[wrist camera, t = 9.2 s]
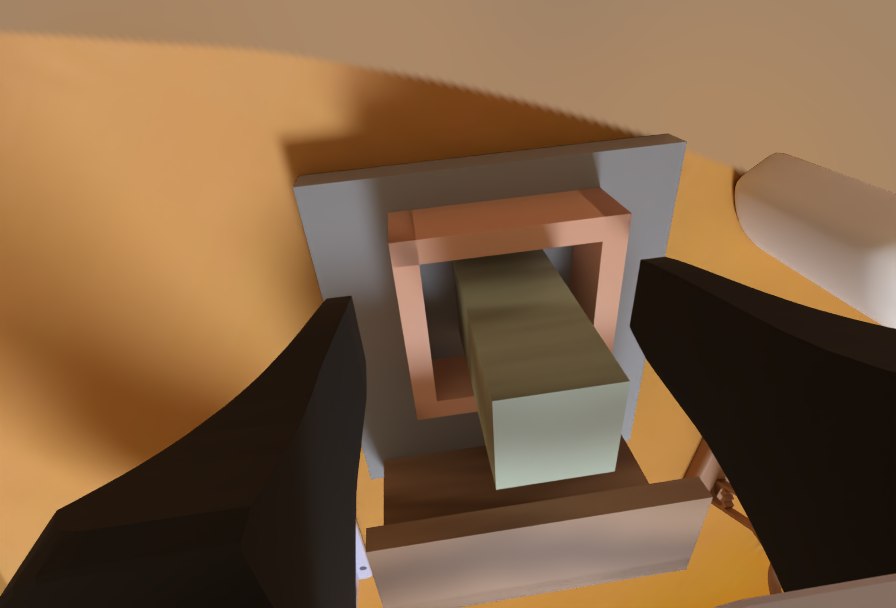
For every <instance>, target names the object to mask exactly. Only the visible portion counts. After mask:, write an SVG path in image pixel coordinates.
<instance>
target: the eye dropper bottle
mask: <svg viewBox="0 0 896 608" xmlns="http://www.w3.org/2000/svg"><path fill="white" fill-rule="evenodd" d="M735 207H736V212H737V216H738V220H739V222H740V225H741V227H742V229H743V231H744V232H745V234H746V235H747V236H748V237H749V239H750V240H751V241H752V242H753V243H754V244H755V245H757V246H758V247H759V248H760V249H762V250H763V251H765V252H766V253H768V254H769V255H771V256H773V257H774V258H776V259H777V260H779V261H780V262H782V263H784V264H785V265H787V266H788V267H790V268H791V269H793V270H795V271H796V272H798V273H799V274H801V275H802V276H804V277H806V278H807V279H809V280H810V281H812V282H814V283H815V284H817V285H818V286H820V287H821V288H823V289H825V290H826V291H828V292H829V293H831V294H833V295H834V296H836V297H837V298H839V299H841V300H842V301H844V302H845V303H847V304H848V305H850V306H852V307H853V308H855V309H856V310H858V311H860V312H861V313H863V314H865V315H866V316H868V317H870V318H871V319H873V320H874V321H876V322H878V323H880V324H881V325H883V326H885V327H890V328H895V329H896V194H895V193H893V192H890V191H887V190H884V189H882V188H879V187H876V186H874V185H871V184H868V183H865V182H863V181H860V180H857V179H854V178H851V177H849V176H846V175H843V174H841V173H838V172H835V171H832V170H829V169H827V168H824V167H821V166H818V165H815V164H813V163H810V162H807V161H804V160H802V159H799V158H796V157H793V156H790V155H787V154H784V153H775V154H773V155H770V156H769V157H767V158H766V159H765V160H763V161H762V162H760V163H759V164H757V165H756V166H755V167H753V168H752V169H751V170H749V171H748V172H747V173H745V174H744V175H743V176H742V177H741V178H740V179H739V180H738V181H737V184H736V187H735Z"/></svg>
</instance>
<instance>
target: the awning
mask: <svg viewBox="0 0 896 608" xmlns="http://www.w3.org/2000/svg"><path fill="white" fill-rule="evenodd" d="M712 499H713V497H712V495H711V494H710V492H709V491H708V489H707V488H706V486H705V485H704V483H703V482H702V480H701V479H700V477H699V476H698V477H692V478H685V479H679V480H672V481H666V482H659V483H653V484H649V483H648V481H647V479H646V477H645V476H644V474H643V472H642V470H641V468H640V467H639V465H638V463H637V461H636V460H635V458H634V456H633V454H632V452H631V451H630V449H629V447H628V445H627V443H626V442H625V440H624V438H623V436H622V434H621V438H620V444H619V450H618V456H617V461H616V467H615V471H614V472H608V473H601V474H595V475H588V476H582V477H575V478H569V479H562V480H556V481H550V482H543V483H537V484H530V485H524V486H517V487H511V488H505V489H498V490H496V487H495V483H494V479H493V474H492V470H491V466H490V461H489V457H488V453H487V449H486V445H485V446H478V447H472V448H465V449H458V450H451V451H445V452H438V453H431V454H424V455H418V456H411V457H404V458H397V459H391V460H384V526H378V527H371V528H366V555H367V558H368V561H369V564H370V568H371V571H372V574H373V577H374V580H375V583H376V586H377V589H378V592H379V596H380V599H381V602H382V605H383V608H459V607H465V606H471V605H477V604H483V603H489V602H495V601H501V600H507V599H513V598H519V597H525V596H531V595H536V594H542V593H548V592H554V591H560V590H566V589H572V588H578V587H584V586H590V585H596V584H602V583H608V582H614V581H620V580H626V579H632V578H638V577H644V576H650V575H656V574H662V573H668V572H674V571H680V570H686V569H687V566H688V563H689V561H690V558H691V555H692V553H693V550H694V547H695V544H696V542H697V539H698V536H699V534H700V531H701V528H702V526H703V523H704V520H705V517H706V515H707V512H708V509H709V507H710V504H711V501H712Z"/></svg>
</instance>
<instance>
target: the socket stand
mask: <svg viewBox="0 0 896 608" xmlns="http://www.w3.org/2000/svg"><path fill="white" fill-rule="evenodd" d="M686 143H687V142H686V141H684V140H682V139H679V138H677V137H675V136H672V135H670V134H660V135H651V136H642V137H634V138H625V139H616V140H608V141H599V142H590V143H581V144H573V145H564V146H555V147H546V148H538V149H529V150H520V151H512V152H503V153H494V154H485V155H477V156H468V157H459V158H451V159H442V160H433V161H424V162H416V163H407V164H398V165H389V166H381V167H372V168H363V169H355V170H346V171H337V172H328V173H320V174H311V175H302V176H298V178H297V180H296V182H295V184H294V186H293V190H294V194H295V198H296V202H297V205H298V209H299V213H300V216H301V220H302V224H303V228H304V231H305V235H306V239H307V243H308V246H309V250H310V254H311V257H312V261H313V265H314V269H315V272H316V276H317V280H318V283H319V287H320V291H321V295H322V298H323V302H324V301H325V300H326V299H327V298H335V297H344V296H352V299H353V304H354V308H355V313H356V318H357V322H358V327H359V331H360V336H361V340H362V345H363V349H364V354H365V359H366V377H367V399H366V408H365V417H364V426H363V434H362V447H363V451H364V455H365V458H366V462H367V466H368V470H369V473H370V477H371V479H377V478H384V460H391V459H397V458H404V457H411V456H418V455H424V454H431V453H438V452H445V451H451V450H458V449H465V448H472V447H478V446H485V445H486V444H485V440H484V436H483V431H482V427H481V423H480V419H479V414H478V410H477V406H476V401H475V397H474V393H473V389H472V384H471V380H470V376H469V371H468V367H467V363H466V359H465V354H464V350H463V346H462V341H461V337H460V333H459V325H458V314H457V302H456V291H455V279H454V268H453V260H460V259H468V258H476V257H484V256H492V255H500V254H508V253H516V252H524V251H531V250H539V249H543V250H544V252H545V253H546V255H547V256H548V258H549V259H550V261H551V262H552V264H553V265H554V267H555V268H556V270H557V272H558V273H559V275H560V276H561V278H562V279H563V281H564V282H565V284H566V285H567V287H568V288H569V290H570V291H571V293H572V294H573V296H574V297H575V299H576V300H577V302H578V303H579V305H580V306H581V308H582V309H583V311H584V312H585V314H586V315H587V317H588V318H589V320H590V321H591V323H592V324H593V326H594V327H595V329H596V330H597V332H598V333H599V335H600V336H601V338H602V339H603V341H604V342H605V344H606V345H607V347H608V348H609V350H610V351H611V353H612V354H613V356H614V357H615V359H616V360H617V362H618V363H619V365H620V366H621V368H622V369H623V371H624V372H625V374H626V375H627V377H628V378H629V380H630V386H629V392H628V398H627V403H626V409H625V415H624V421H623V427H622V432H621V434H622V436H623V438H624V440H625V441H629V440H630V436H631V431H632V425H633V420H634V415H635V410H636V405H637V399H638V394H639V389H640V384H641V378H642V373H643V368H644V363H645V356H644V354H643V352H642V350H641V349H640V347H639V345H638V343H637V341H636V339H635V337H634V335H633V333H632V331H631V329H630V327H629V326H630V320H631V314H632V308H633V302H634V296H635V290H636V284H637V278H638V272H639V266H640V260H642V259H650V258H658V257H665V253H666V248H667V243H668V237H669V232H670V227H671V222H672V217H673V211H674V206H675V201H676V196H677V190H678V185H679V180H680V175H681V170H682V164H683V159H684V154H685V149H686Z"/></svg>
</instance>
